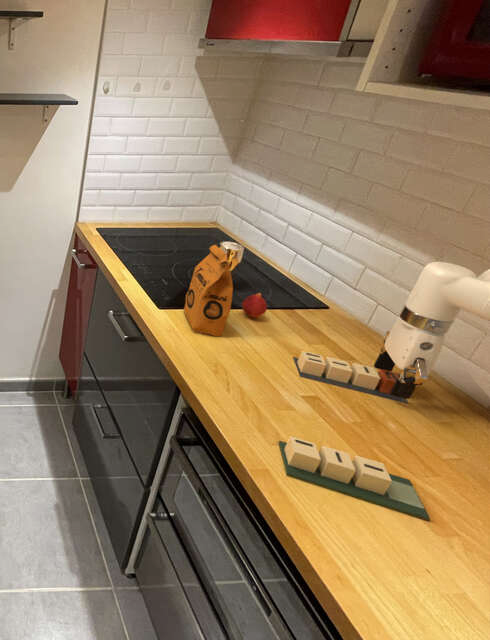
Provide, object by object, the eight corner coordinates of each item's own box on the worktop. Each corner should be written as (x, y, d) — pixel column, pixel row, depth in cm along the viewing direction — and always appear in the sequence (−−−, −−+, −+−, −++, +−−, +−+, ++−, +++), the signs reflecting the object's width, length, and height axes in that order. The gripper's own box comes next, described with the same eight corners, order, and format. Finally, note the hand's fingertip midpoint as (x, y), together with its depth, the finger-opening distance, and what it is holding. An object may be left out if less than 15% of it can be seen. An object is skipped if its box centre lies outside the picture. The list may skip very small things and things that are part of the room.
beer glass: (218, 294, 139) (231, 251, 133) (202, 283, 146) (214, 242, 139) (236, 292, 141) (250, 249, 135) (220, 281, 147) (232, 240, 141)
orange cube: (395, 385, 102) (402, 373, 101) (402, 397, 99) (409, 384, 97) (373, 380, 104) (379, 368, 102) (380, 391, 100) (386, 379, 99)
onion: (240, 320, 127) (249, 296, 123) (237, 309, 132) (245, 286, 128) (264, 324, 125) (273, 300, 122) (260, 314, 130) (268, 290, 126)
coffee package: (186, 332, 121) (206, 260, 112) (179, 308, 131) (197, 241, 122) (226, 340, 118) (250, 266, 109) (216, 315, 129) (237, 246, 120)
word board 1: (393, 382, 104) (401, 368, 102) (408, 406, 97) (416, 391, 96) (291, 358, 111) (297, 344, 110) (299, 378, 105) (305, 364, 103)
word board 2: (408, 481, 80) (418, 465, 79) (429, 521, 74) (441, 504, 72) (278, 442, 88) (285, 426, 86) (286, 475, 81) (294, 458, 79)
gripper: (471, 347, 85) (429, 414, 92) (428, 303, 99) (395, 364, 107) (420, 336, 88) (383, 402, 95) (386, 295, 102) (356, 355, 109)
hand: (390, 382), depth 101 cm, fingers open, 9 cm apart
